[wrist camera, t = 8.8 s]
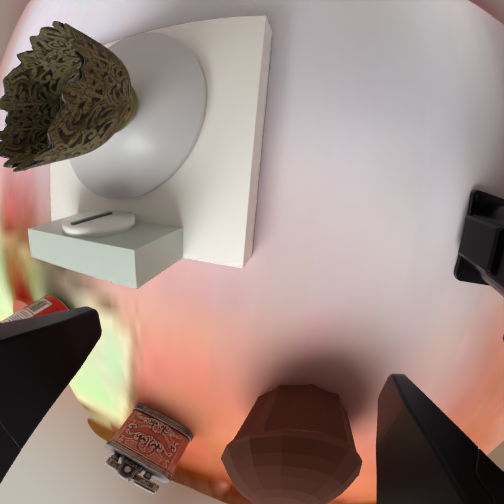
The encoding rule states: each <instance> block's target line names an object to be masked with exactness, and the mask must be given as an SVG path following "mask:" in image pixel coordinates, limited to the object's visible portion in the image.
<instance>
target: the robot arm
mask: <svg viewBox="0 0 504 504" xmlns="http://www.w3.org/2000/svg"><path fill="white" fill-rule="evenodd" d="M476 195H478V199H477V200H476ZM460 271H462V273H461V275H459V273H460ZM454 276H455V278H456V279H458V280H459V281H465V282H471V283H478V284H484V285H490V286H492V287H493V288H494V289H495V290H496V291H498V292H499V293H500V294H501V295H502V296H503V297H504V199H501V198H499V197H496V196H493V195H491V194H488V193H485V192H482V191H479V190H473V191H472V192H471V195H470V201H469V208H468V214H467V217H466V219H465V225H464V230H463V235H462V239H461V244H460V248H459V256H458V260H457V263H456V267H455V271H454ZM101 333H102V330H101V325H100V320H99V315H98V312H97V311H96V310H95V309H93V308H90V307H81V308H76V309H71V310H66V311H61V312H56V313H51V314H46V315H41V316H36V317H30V318H25V319H20V320H14V321H9V322H4V323H0V483H1V482H2V480H3V478H4V477H5V475H6V473H7V472H8V470H9V468H10V467H11V465H12V464H13V462H14V461H15V459H16V457H17V456H18V454H19V453H20V451H21V449H22V448H23V446H24V445H25V443H26V442H27V440H28V439H29V437H30V436H31V434H32V433H33V432H34V430H35V429H36V427H37V426H38V424H39V423H40V422H41V420H42V419H43V417H44V416H45V415H46V413H47V412H48V410H49V409H50V408H51V406H52V405H53V403H54V402H55V401H56V399H57V398H58V397H59V396H60V394H61V393H62V392H63V390H64V389H65V388H66V386H67V385H68V384H69V382H70V381H71V380H72V379H73V377H74V376H75V375H76V373H77V372H78V371H79V369H80V368H81V366H82V365H83V363H84V362H85V360H86V359H87V357H88V355H89V354H90V352H91V351H92V349H93V348H94V346H95V345H96V343H97V342H98V340H99V339H100V337H101ZM503 341H504V335H503ZM376 466H377V504H504V472H503V471H502V470H501V469H500V468H499V467H498V466H497V465H496V464H495V463H494V462H493V461H492V460H490V459H489V458H488V457H487V456H486V455H485V454H484V453H483V451H482V450H481V449H478V447H477V446H476V445H475V444H474V442H473V441H472V440H471V439H470V438H469V437H468V436H467V435H466V434H465V433H464V432H463V431H462V430H461V429H460V428H459V427H458V426H457V425H456V424H455V423H454V422H452V421H451V420H450V419H449V418H448V417H447V416H446V415H445V414H444V413H443V412H442V411H441V410H440V409H439V408H438V407H437V406H436V405H435V404H434V403H433V402H432V401H431V400H430V399H429V398H428V397H427V396H426V395H425V394H424V393H423V392H422V391H421V390H420V389H419V388H418V387H417V386H416V385H415V384H414V383H413V382H412V381H411V380H410V379H409V378H407V377H406V376H405V375H403V374H391V375H390V376H389V377H388V379H387V381H386V383H385V385H384V387H383V389H382V391H381V393H380V395H379V399H378V418H377V437H376Z"/></svg>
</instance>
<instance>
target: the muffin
mask: <svg viewBox="0 0 504 504" xmlns="http://www.w3.org/2000/svg"><path fill="white" fill-rule="evenodd" d="M221 460H222V462H223V464H224V466H225V468H226V470H227V473H228V475H229V477H230V479H231V480H232V482H233V484H234V486H235V487H236V489H237V491H238V492H239V493H240V494H241V495H243V496H244V497H245V498H247V499H248V500H249V501H251V502H252V503H254V504H327V503H329V502H330V501H332V500H333V499H335V498H336V497H338V496H339V495H341V494H342V493H343V492H344V491H345V490H346V489H347V488H348V487H349V486H350V484H351V483H352V482H353V481H354V480H355V479H356V477H357V476H358V475H359V473H360V469H361V465H362V460H361V458H360V456H359V454H358V453H357V452H356V448H355V444H354V440H353V436H352V432H351V427H350V423H349V419H348V415H347V412H346V411H345V409H344V408H343V406H342V405H341V402H340V399H339V396H338V395H336V394H332V393H329V392H326V391H324V390H322V389H320V388H318V387H316V386H314V385H313V384H311V385H302V386H284V385H280V386H279V387H277V388H276V389H274V390H273V391H271V392H270V393H267V394H265V395H263V396H260V397H258V399H257V401H256V402H255V404H254V406H253V408H252V409H251V411H250V413H249V414H248V416H247V418H246V420H245V421H244V423H243V425H242V426H241V428H240V430H239V431H238V433H237V435H236V436H235V438H234V440H232V441H231V442H230V443H229V444H228V445H227V446H226V448H225V450H224V452H223V455H222V457H221Z"/></svg>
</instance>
